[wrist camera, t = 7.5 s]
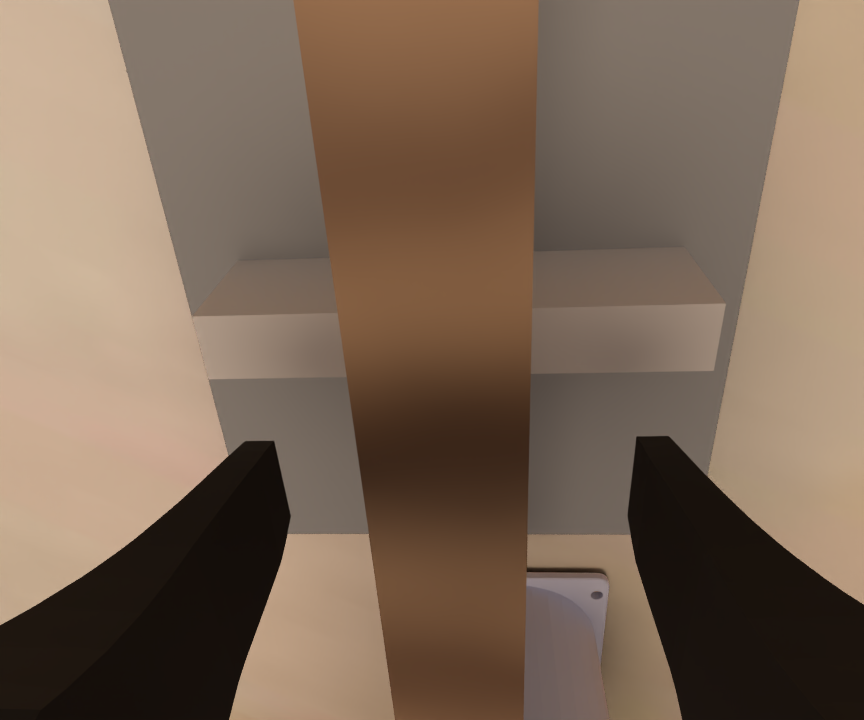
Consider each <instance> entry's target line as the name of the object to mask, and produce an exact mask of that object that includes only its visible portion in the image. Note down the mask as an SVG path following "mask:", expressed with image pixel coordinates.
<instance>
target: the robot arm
mask: <svg viewBox="0 0 864 720" xmlns="http://www.w3.org/2000/svg"><path fill="white" fill-rule="evenodd" d="M627 516H628V522H629V528H630V533H631V539H632V544H633V550H634V555H635V560H636V564H637V567H638V571H639V574H640V577H641V580H642V583H643V586H644V590H645V593H646V596H647V599H648V602H649V605H650V608H651V611H652V615H653V618H654V621H655V624H656V627H657V630H658V633H659V636H660V639H661V642H662V646H663V649H664V652H665V655H666V658H667V661H668V664H669V667H670V671H671V674H672V678H673V682H674V685H675V689H676V693H677V697H678V702H679V706H680V711H681V716H682V720H864V605H863V604H862V603H860V602H859V601H857V600H856V599H854V598H852V597H851V596H849V595H848V594H846V593H845V592H843V591H842V590H840V589H839V588H837V587H836V586H835V585H833V584H832V583H830V582H829V581H827V580H826V579H825V578H823V577H822V576H821V575H819V574H818V573H817V572H815V571H814V570H813V569H811V568H810V567H809V566H807V565H806V564H804V563H803V562H802V561H800V560H799V559H798V558H796V557H795V556H794V555H793V554H791V553H790V552H789V551H788V550H786V549H785V548H784V547H783V546H781V545H780V544H779V543H778V542H776V541H775V540H774V539H773V538H772V537H771V536H770V535H768V534H767V533H766V532H765V531H764V530H763V529H761V528H760V527H759V526H758V525H757V524H756V523H755V522H753V521H752V520H751V519H750V518H749V517H748V516H747V515H746V514H745V513H744V512H743V511H742V510H741V509H740V508H739V507H737V506H736V505H735V504H734V503H733V502H732V501H731V500H730V499H729V498H728V497H727V496H726V495H725V494H724V493H723V492H722V491H721V490H720V489H719V488H718V487H717V486H716V485H715V484H714V483H713V482H712V481H711V480H710V479H709V478H708V477H707V476H706V475H705V474H704V472H703V471H702V470H701V469H700V468H699V467H698V466H697V465H696V464H695V463H694V462H693V461H692V460H691V459H690V458H689V457H688V456H687V454H686V453H685V452H684V451H683V450H682V449H681V448H680V447H679V446H678V445H677V444H676V443H675V442H674V441H673V440H672V439H671V438H670V437H669V436H636V445H635V453H634V462H633V471H632V479H631V488H630V497H629V505H628V514H627ZM290 519H291V514H290V510H289V505H288V501H287V496H286V492H285V487H284V483H283V478H282V474H281V469H280V465H279V460H278V456H277V451H276V447H275V442H274V441H245V442H243V443H242V444H241V445H240V446H239V447H238V448H237V449H236V450H234V451H233V452H232V453H231V454H230V455H229V456H228V457H227V458H226V459H225V460H224V461H223V462H222V463H221V464H220V465H219V466H217V467H216V468H215V469H214V470H213V471H212V472H211V473H210V474H209V475H208V476H207V477H206V478H205V479H204V480H203V481H201V482H200V483H199V484H198V485H197V486H196V487H195V488H194V489H193V490H192V491H191V492H189V493H188V494H187V495H186V496H185V497H184V498H183V499H182V500H181V501H180V502H178V503H177V504H176V505H175V506H174V507H173V508H172V509H170V510H169V511H168V512H167V513H166V514H164V515H163V516H162V517H161V518H160V519H158V520H157V521H156V522H155V523H154V524H152V525H151V526H150V527H149V528H148V529H146V530H145V531H144V532H143V533H142V534H140V535H139V536H138V537H137V538H135V539H134V540H133V541H132V542H130V543H129V544H128V545H126V546H125V547H124V548H122V549H121V550H120V551H118V552H117V553H116V554H114V555H113V556H111V557H110V558H109V559H107V560H106V561H104V562H103V563H102V564H100V565H99V566H97V567H96V568H94V569H93V570H92V571H90V572H89V573H87V574H86V575H84V576H83V577H81V578H80V579H78V580H76V581H75V582H73V583H71V584H70V585H68V586H67V587H65V588H63V589H62V590H60V591H58V592H57V593H55V594H54V595H52V596H50V597H49V598H47V599H46V600H44V601H42V602H41V603H39V604H37V605H36V606H34V607H32V608H31V609H29V610H27V611H25V612H23V613H22V614H20V615H18V616H16V617H14V618H13V619H11V620H9V621H7V622H5V623H4V624H2V625H0V720H229V717H230V713H231V710H232V706H233V702H234V698H235V694H236V690H237V686H238V682H239V679H240V676H241V673H242V670H243V667H244V663H245V660H246V658H247V655H248V652H249V649H250V647H251V644H252V641H253V638H254V636H255V633H256V630H257V627H258V625H259V622H260V619H261V617H262V614H263V611H264V608H265V606H266V603H267V600H268V597H269V595H270V592H271V589H272V586H273V583H274V581H275V578H276V575H277V572H278V569H279V566H280V563H281V560H282V556H283V551H284V547H285V543H286V538H287V533H288V528H289V523H290ZM595 591H599V592H595ZM608 594H609V582H608V578H607V577H606V576H605V575H604V574H602V573H558V572H527V578H526V626H525V673H524V720H610V719H609V713H608V707H607V702H606V696H605V690H604V685H603V679H602V673H601V667H600V666H601V657H602V648H603V639H604V630H605V621H606V612H607V603H608Z"/></svg>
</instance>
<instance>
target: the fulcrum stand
mask: <svg viewBox="0 0 864 720" xmlns="http://www.w3.org/2000/svg"><path fill="white" fill-rule="evenodd" d="M108 1H109V5H110V9H111V13H112V16H113V20H114V24H115V28H116V32H117V35H118V39H119V43H120V47H121V50H122V54H123V58H124V62H125V66H126V69H127V73H128V77H129V81H130V84H131V88H132V92H133V96H134V100H135V103H136V107H137V111H138V115H139V118H140V122H141V126H142V130H143V134H144V137H145V141H146V145H147V149H148V153H149V156H150V160H151V164H152V168H153V171H154V175H155V179H156V183H157V187H158V190H159V194H160V198H161V202H162V205H163V209H164V213H165V217H166V221H167V224H168V228H169V232H170V236H171V240H172V243H173V247H174V251H175V255H176V258H177V262H178V266H179V270H180V274H181V277H182V281H183V285H184V289H185V292H186V296H187V300H188V304H189V308H190V311H191V315H192V319H193V323H194V327H195V331H196V334H197V338H198V342H199V346H200V350H201V353H202V357H203V361H204V365H205V368H206V372H207V376H208V379H209V383H210V387H211V391H212V395H213V398H214V402H215V406H216V410H217V413H218V417H219V421H220V425H221V429H222V432H223V436H224V440H225V444H226V447H227V451H228V455H230V454H231V453H232V452H233V451H234V450H236V449H237V448H238V447H239V446H240V445H241V444H242V443H243V442H245V441H274V442H275V447H276V451H277V456H278V460H279V465H280V469H281V474H282V478H283V483H284V487H285V492H286V496H287V501H288V505H289V510H290V514H291V519H290V523H289V528H288V533H287V534H369V531H368V524H367V517H366V510H365V503H364V496H363V489H362V482H361V475H360V468H359V461H358V454H357V446H356V439H355V432H354V425H353V418H352V411H351V404H350V397H349V390H348V383H347V376H346V369H345V362H344V355H343V348H342V341H341V333H340V326H339V319H338V312H337V305H336V298H335V291H334V284H333V277H332V270H331V263H330V256H329V249H328V242H327V235H326V228H325V220H324V213H323V206H322V199H321V192H320V185H319V178H318V171H317V164H316V157H315V150H314V143H313V136H312V129H311V122H310V115H309V108H308V100H307V93H306V86H305V79H304V72H303V65H302V58H301V51H300V44H299V37H298V30H297V23H296V16H295V9H294V2H293V0H108ZM798 5H799V0H539V8H538V56H537V103H536V151H535V198H534V246H533V293H532V341H531V388H530V436H529V483H528V531H527V534H619V535H631V533H630V528H629V522H628V516H627V514H628V505H629V497H630V488H631V479H632V471H633V462H634V453H635V445H636V436H669V437H670V438H671V439H672V440H673V441H674V442H675V443H676V444H677V445H678V446H679V447H680V448H681V449H682V450H683V451H684V452H685V453H686V454H687V456H688V457H689V458H690V459H691V460H692V461H693V462H694V463H695V464H696V465H697V466H698V467H699V468H700V469H701V470H702V471H703V472H704V474H705V475H706V476H707V474H708V469H709V464H710V459H711V454H712V449H713V444H714V438H715V433H716V428H717V423H718V418H719V413H720V407H721V402H722V397H723V392H724V387H725V382H726V376H727V371H728V366H729V361H730V356H731V351H732V346H733V340H734V335H735V330H736V325H737V320H738V315H739V309H740V304H741V299H742V294H743V289H744V284H745V278H746V273H747V268H748V263H749V258H750V253H751V247H752V242H753V237H754V232H755V227H756V222H757V217H758V211H759V206H760V201H761V196H762V191H763V186H764V180H765V175H766V170H767V165H768V160H769V155H770V149H771V144H772V139H773V134H774V129H775V124H776V118H777V113H778V108H779V103H780V98H781V93H782V88H783V82H784V77H785V72H786V67H787V62H788V57H789V51H790V46H791V41H792V36H793V31H794V26H795V20H796V15H797V10H798Z"/></svg>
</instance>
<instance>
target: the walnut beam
mask: <svg viewBox="0 0 864 720" xmlns="http://www.w3.org/2000/svg"><path fill="white" fill-rule="evenodd" d="M293 2H294V9H295V16H296V23H297V30H298V37H299V44H300V51H301V58H302V65H303V72H304V79H305V86H306V93H307V100H308V108H309V115H310V122H311V129H312V136H313V143H314V150H315V157H316V164H317V171H318V178H319V185H320V192H321V199H322V206H323V213H324V220H325V228H326V235H327V242H328V249H329V256H330V263H331V270H332V277H333V284H334V291H335V298H336V305H337V312H338V319H339V326H340V333H341V341H342V348H343V355H344V362H345V369H346V376H347V383H348V390H349V397H350V404H351V411H352V418H353V425H354V432H355V439H356V446H357V454H358V461H359V468H360V475H361V482H362V489H363V496H364V503H365V510H366V517H367V524H368V531H369V538H370V545H371V552H372V559H373V566H374V574H375V581H376V588H377V595H378V602H379V609H380V616H381V623H382V630H383V637H384V644H385V651H386V658H387V665H388V672H389V679H390V687H391V694H392V701H393V708H394V715H395V720H524V673H525V626H526V578H527V531H528V483H529V436H530V388H531V341H532V293H533V246H534V198H535V151H536V103H537V56H538V8H539V0H293Z"/></svg>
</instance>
